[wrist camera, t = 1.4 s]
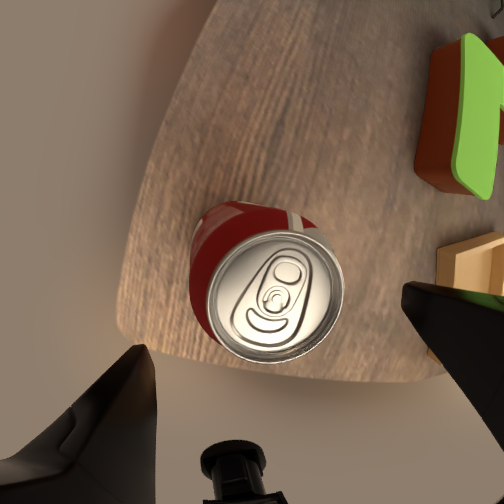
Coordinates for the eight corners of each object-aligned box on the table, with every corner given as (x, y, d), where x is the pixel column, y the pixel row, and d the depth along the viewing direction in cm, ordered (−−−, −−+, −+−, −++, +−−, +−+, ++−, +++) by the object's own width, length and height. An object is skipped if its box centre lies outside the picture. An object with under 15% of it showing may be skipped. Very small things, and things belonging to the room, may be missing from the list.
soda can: (178, 271, 22) (166, 353, 11) (210, 187, 21) (229, 182, 10) (259, 298, 24) (314, 387, 12) (291, 220, 23) (382, 250, 11)
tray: (483, 323, 32) (497, 330, 29) (427, 355, 30) (441, 366, 27) (493, 231, 29) (509, 234, 26) (436, 248, 27) (455, 254, 24)
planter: (430, -14, 20) (456, -29, 14) (506, 61, 24) (531, 56, 19) (409, 174, 24) (453, 174, 19) (493, 233, 29) (527, 241, 23)
